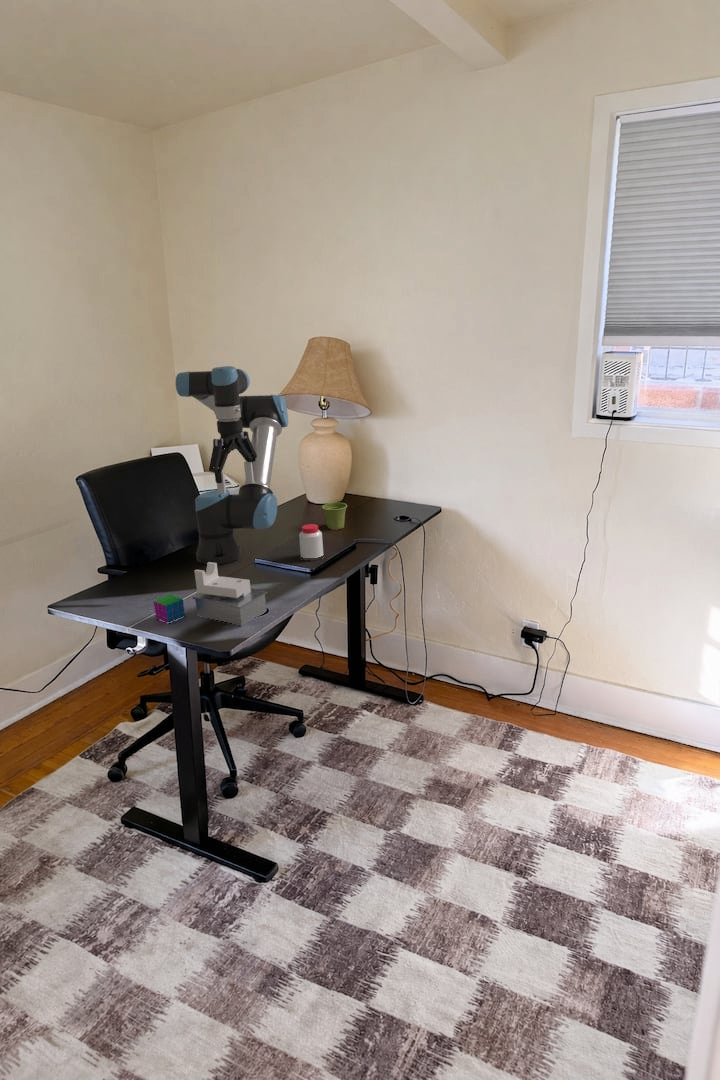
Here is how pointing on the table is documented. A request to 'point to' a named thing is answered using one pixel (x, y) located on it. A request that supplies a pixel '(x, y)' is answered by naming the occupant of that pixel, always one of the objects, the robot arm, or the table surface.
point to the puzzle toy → (169, 608)
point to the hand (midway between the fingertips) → (236, 487)
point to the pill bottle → (311, 541)
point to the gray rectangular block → (231, 607)
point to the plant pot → (335, 515)
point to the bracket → (220, 583)
